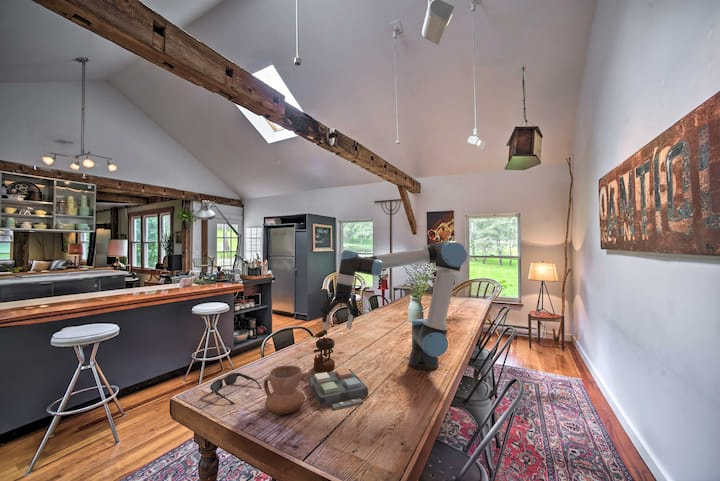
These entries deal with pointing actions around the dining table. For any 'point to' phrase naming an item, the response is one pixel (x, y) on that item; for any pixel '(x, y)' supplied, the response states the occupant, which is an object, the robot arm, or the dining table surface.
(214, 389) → the sunglasses
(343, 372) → the terracotta key
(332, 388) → the sage key
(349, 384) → the slate key
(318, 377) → the cream key
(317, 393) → the keypad
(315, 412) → the dining table surface
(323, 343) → the music box
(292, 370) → the ceramic jug
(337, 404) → the plaque
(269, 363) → the dining table surface
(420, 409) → the dining table surface
